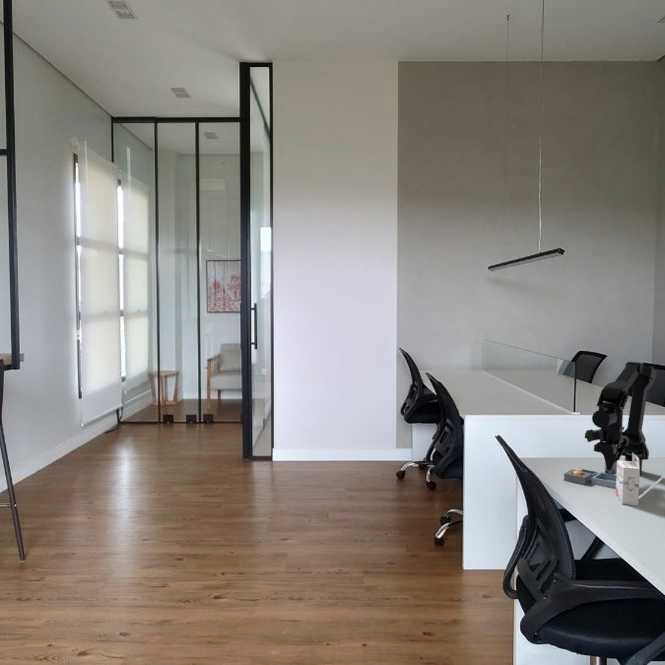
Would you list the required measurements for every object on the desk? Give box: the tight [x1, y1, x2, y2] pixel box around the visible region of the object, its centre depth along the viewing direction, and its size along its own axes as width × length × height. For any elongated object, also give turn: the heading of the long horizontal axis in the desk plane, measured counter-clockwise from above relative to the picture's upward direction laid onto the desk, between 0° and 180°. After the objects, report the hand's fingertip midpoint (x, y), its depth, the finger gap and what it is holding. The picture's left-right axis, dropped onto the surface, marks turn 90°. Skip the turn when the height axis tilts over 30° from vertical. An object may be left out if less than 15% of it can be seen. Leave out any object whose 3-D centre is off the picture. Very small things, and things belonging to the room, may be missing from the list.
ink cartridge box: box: [615, 452, 641, 506], centre depth 191 cm, size 9×5×15 cm, turn 168°
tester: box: [563, 468, 599, 486], centre depth 213 cm, size 16×8×3 cm, turn 139°
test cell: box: [604, 461, 617, 475], centre depth 206 cm, size 4×4×4 cm
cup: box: [591, 471, 617, 490], centre depth 207 cm, size 9×9×2 cm
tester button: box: [574, 470, 583, 476], centre depth 209 cm, size 3×3×2 cm
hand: (610, 469), depth 206 cm, fingers closed on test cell, 4 cm apart
